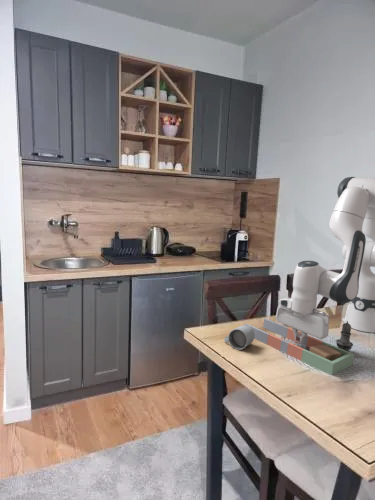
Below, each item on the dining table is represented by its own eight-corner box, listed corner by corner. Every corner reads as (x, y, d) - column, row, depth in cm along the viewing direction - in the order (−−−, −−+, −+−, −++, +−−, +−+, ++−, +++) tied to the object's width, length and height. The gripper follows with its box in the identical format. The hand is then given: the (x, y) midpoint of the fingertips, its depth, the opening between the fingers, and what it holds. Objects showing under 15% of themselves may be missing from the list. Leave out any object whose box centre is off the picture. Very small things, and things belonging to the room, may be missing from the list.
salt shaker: (353, 356, 125) (358, 325, 123) (336, 354, 126) (340, 322, 124) (349, 349, 130) (354, 319, 129) (333, 347, 132) (337, 317, 130)
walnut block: (322, 357, 123) (324, 344, 122) (338, 366, 116) (340, 353, 116) (308, 360, 120) (309, 346, 119) (323, 370, 113) (325, 355, 113)
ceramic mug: (255, 345, 129) (256, 325, 128) (246, 352, 122) (247, 332, 121) (229, 337, 135) (230, 319, 134) (219, 344, 128) (221, 324, 127)
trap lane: (265, 327, 148) (266, 318, 147) (352, 364, 118) (354, 353, 118) (243, 333, 140) (244, 323, 139) (331, 375, 110) (333, 363, 109)
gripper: (334, 312, 119) (329, 350, 121) (285, 296, 135) (282, 329, 137) (324, 315, 115) (319, 354, 117) (275, 298, 131) (271, 333, 133)
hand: (299, 341), depth 127 cm, fingers closed
